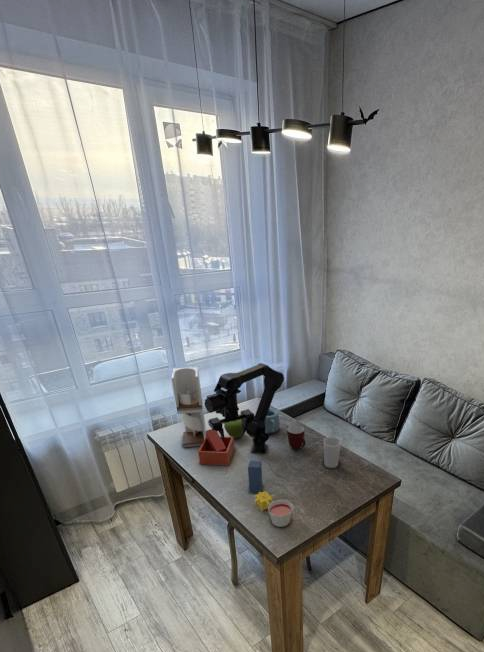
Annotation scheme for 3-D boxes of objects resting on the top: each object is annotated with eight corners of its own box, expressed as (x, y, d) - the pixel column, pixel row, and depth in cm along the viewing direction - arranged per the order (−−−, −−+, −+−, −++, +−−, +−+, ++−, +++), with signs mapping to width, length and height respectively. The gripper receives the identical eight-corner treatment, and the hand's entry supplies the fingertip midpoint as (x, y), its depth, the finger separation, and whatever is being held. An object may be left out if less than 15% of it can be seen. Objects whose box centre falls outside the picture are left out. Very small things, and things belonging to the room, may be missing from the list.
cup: (338, 470, 176) (339, 447, 170) (320, 467, 177) (321, 444, 171) (341, 460, 183) (343, 438, 177) (324, 457, 184) (325, 435, 178)
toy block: (279, 508, 153) (278, 497, 150) (260, 515, 149) (259, 504, 146) (269, 496, 159) (269, 485, 156) (251, 503, 155) (250, 492, 152)
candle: (283, 532, 142) (283, 519, 139) (263, 522, 146) (263, 509, 143) (297, 518, 148) (298, 505, 145) (278, 509, 152) (278, 496, 149)
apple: (250, 432, 201) (249, 415, 196) (242, 443, 192) (240, 425, 187) (230, 429, 203) (229, 412, 197) (221, 439, 194) (219, 422, 189)
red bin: (207, 447, 187) (206, 435, 184) (234, 448, 188) (233, 436, 184) (199, 464, 176) (198, 451, 172) (228, 465, 176) (227, 452, 173)
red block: (226, 448, 175) (215, 427, 181) (216, 451, 173) (205, 430, 179) (226, 454, 179) (215, 434, 184) (216, 457, 177) (205, 436, 182)
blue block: (251, 485, 164) (249, 460, 158) (262, 485, 164) (261, 461, 158) (249, 492, 160) (247, 467, 154) (260, 492, 160) (259, 467, 154)
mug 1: (285, 436, 199) (285, 418, 194) (264, 440, 195) (263, 422, 190) (275, 422, 211) (274, 406, 205) (255, 426, 206) (254, 409, 201)
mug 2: (311, 449, 190) (312, 431, 185) (300, 455, 185) (300, 437, 180) (295, 441, 196) (295, 423, 190) (283, 447, 190) (283, 429, 185)
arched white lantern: (184, 435, 196) (173, 368, 178) (206, 433, 198) (197, 367, 181) (183, 447, 186) (171, 378, 169) (206, 445, 189) (197, 376, 171)
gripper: (242, 392, 174) (245, 423, 183) (201, 402, 165) (205, 434, 173) (254, 402, 167) (256, 433, 175) (211, 412, 157) (215, 445, 165)
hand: (233, 436), depth 172 cm, fingers open, 9 cm apart
